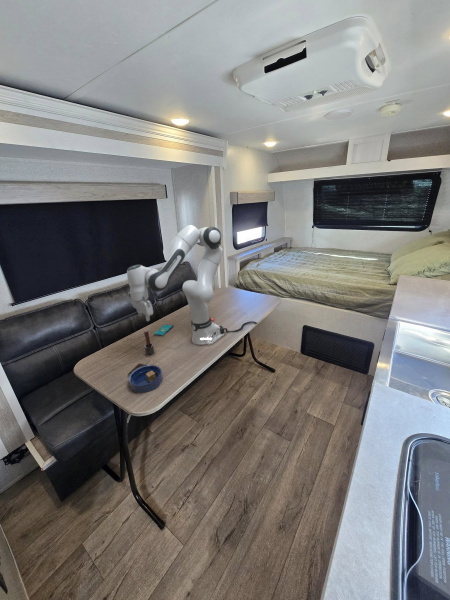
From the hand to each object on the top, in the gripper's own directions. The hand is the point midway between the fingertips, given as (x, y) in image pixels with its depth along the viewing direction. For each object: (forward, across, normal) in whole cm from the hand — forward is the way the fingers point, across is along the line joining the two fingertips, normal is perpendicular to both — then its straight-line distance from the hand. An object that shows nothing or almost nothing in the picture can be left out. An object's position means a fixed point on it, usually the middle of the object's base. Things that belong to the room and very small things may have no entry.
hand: (144, 318), depth 135 cm
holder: (+24, +1, 0) cm, 25 cm away
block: (+24, -22, +10) cm, 34 cm away
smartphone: (+24, +21, -20) cm, 38 cm away
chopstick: (+24, +1, 0) cm, 24 cm away
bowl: (+25, -22, +13) cm, 35 cm away
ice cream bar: (+25, -8, +11) cm, 28 cm away
